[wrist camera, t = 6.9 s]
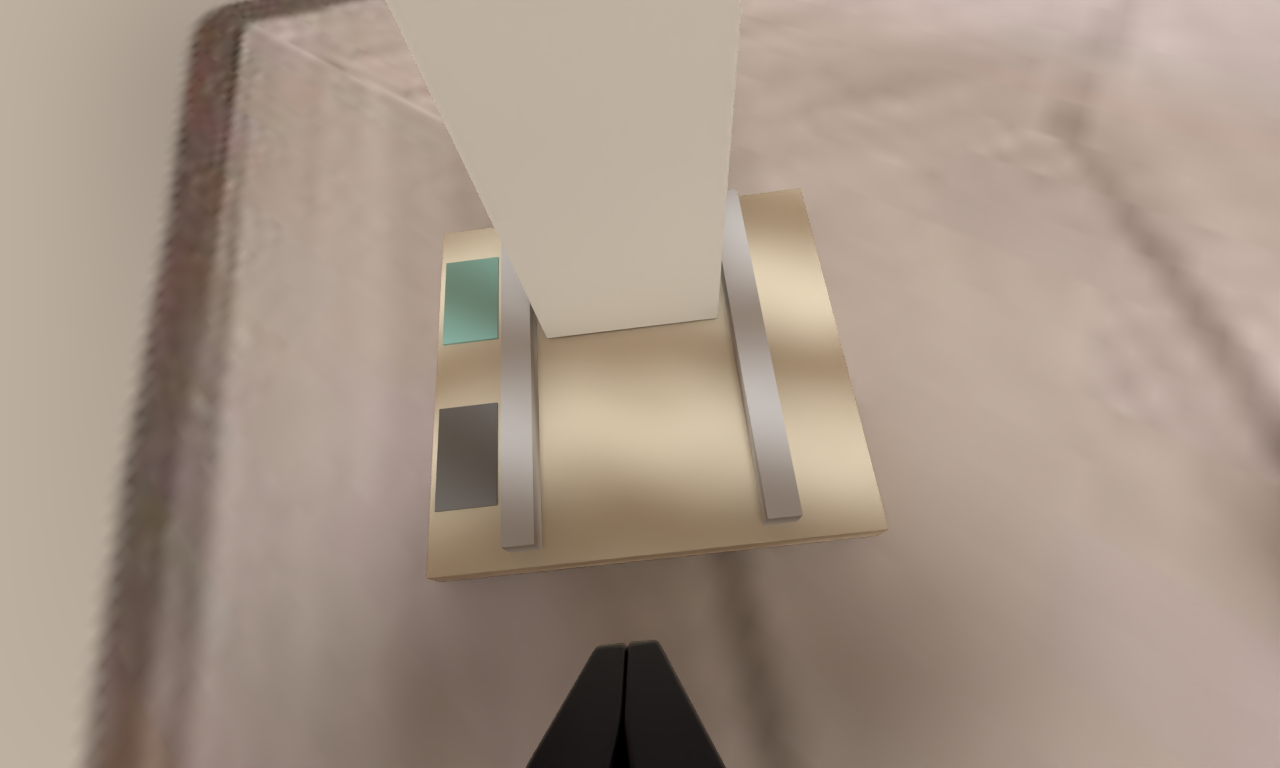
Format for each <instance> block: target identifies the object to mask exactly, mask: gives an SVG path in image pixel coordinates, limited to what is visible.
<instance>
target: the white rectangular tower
mask: <svg viewBox="0 0 1280 768" xmlns="http://www.w3.org/2000/svg"><path fill="white" fill-rule="evenodd" d="M386 2H387V4H388V6H389V8H390V10H391V12H392V14H393V17H394V19H395V21H396V23H397V25H398V27H399V29H400V31H401V33H402V35H403V38H404V40H405V42H406V44H407V46H408V48H409V50H410V52H411V54H412V56H413V58H414V61H415V63H416V65H417V67H418V69H419V71H420V73H421V75H422V77H423V79H424V82H425V84H426V86H427V88H428V90H429V92H430V94H431V96H432V98H433V100H434V102H435V105H436V107H437V109H438V111H439V113H440V115H441V117H442V119H443V121H444V123H445V126H446V128H447V130H448V132H449V134H450V136H451V138H452V140H453V142H454V144H455V146H456V149H457V151H458V153H459V155H460V157H461V159H462V161H463V163H464V165H465V167H466V170H467V172H468V174H469V176H470V178H471V180H472V182H473V184H474V186H475V188H476V190H477V193H478V195H479V197H480V199H481V201H482V203H483V205H484V207H485V209H486V211H487V213H488V216H489V218H490V220H491V222H492V224H493V226H494V228H495V230H496V232H497V234H498V237H499V239H500V241H501V243H502V245H503V247H504V249H505V251H506V253H507V255H508V257H509V260H510V262H511V264H512V266H513V268H514V270H515V272H516V274H517V276H518V278H519V281H520V283H521V285H522V287H523V289H524V291H525V293H526V295H527V297H528V299H529V301H530V304H531V306H532V308H533V310H534V312H535V314H536V316H537V318H538V320H539V322H540V325H541V327H542V329H543V331H544V333H545V335H546V337H547V338H554V337H563V336H571V335H579V334H588V333H596V332H604V331H612V330H621V329H629V328H637V327H646V326H654V325H662V324H671V323H679V322H687V321H696V320H704V319H712V318H717V314H718V301H719V288H720V276H721V263H722V250H723V237H724V224H725V211H726V199H727V186H728V173H729V160H730V147H731V134H732V122H733V109H734V96H735V83H736V70H737V57H738V45H739V32H740V19H741V6H742V0H386Z"/></svg>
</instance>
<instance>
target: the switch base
mask: <svg viewBox="0 0 1280 768" xmlns="http://www.w3.org/2000/svg"><path fill="white" fill-rule="evenodd" d="M886 530H888V525H887V521H886V517H885V514H884V510H883V506H882V502H881V498H880V494H879V490H878V486H877V483H876V479H875V475H874V471H873V467H872V463H871V459H870V455H869V452H868V448H867V444H866V440H865V436H864V432H863V428H862V424H861V421H860V417H859V413H858V409H857V405H856V401H855V397H854V393H853V390H852V386H851V382H850V378H849V374H848V370H847V366H846V362H845V359H844V355H843V351H842V347H841V343H840V339H839V335H838V331H837V328H836V324H835V320H834V316H833V312H832V308H831V304H830V300H829V297H828V293H827V289H826V285H825V281H824V277H823V273H822V269H821V266H820V262H819V258H818V254H817V250H816V246H815V242H814V238H813V235H812V231H811V227H810V223H809V219H808V215H807V211H806V207H805V204H804V200H803V196H802V192H801V188H799V189H791V190H784V191H776V192H768V193H760V194H752V195H744V196H738V192H737V189H733V190H727V199H726V211H725V224H724V237H723V250H722V263H721V276H720V288H719V301H718V314H717V318H712V319H704V320H696V321H687V322H679V323H671V324H662V325H654V326H646V327H637V328H629V329H621V330H612V331H604V332H596V333H588V334H579V335H571V336H563V337H554V338H547V337H546V335H545V333H544V331H543V329H542V327H541V325H540V322H539V320H538V318H537V316H536V314H535V312H534V310H533V308H532V306H531V304H530V301H529V299H528V297H527V295H526V293H525V291H524V289H523V287H522V285H521V283H520V281H519V278H518V276H517V274H516V272H515V270H514V268H513V266H512V264H511V262H510V260H509V257H508V255H507V253H506V251H505V249H504V247H503V245H502V243H501V241H500V239H499V237H498V234H497V232H496V230H495V228H486V229H478V230H470V231H462V232H455V233H447V234H444V243H443V262H442V282H441V301H440V320H439V340H438V359H437V379H436V398H435V417H434V437H433V456H432V476H431V495H430V515H429V534H428V553H427V573H426V578H427V579H432V580H436V581H440V582H445V581H454V580H463V579H473V578H482V577H492V576H501V575H511V574H520V573H530V572H539V571H548V570H558V569H567V568H577V567H586V566H596V565H605V564H615V563H624V562H633V561H643V560H652V559H662V558H671V557H681V556H690V555H700V554H709V553H718V552H728V551H737V550H747V549H756V548H766V547H775V546H785V545H794V544H803V543H813V542H822V541H832V540H841V539H851V538H860V537H870V536H877V535H879V534H881V533H883V532H884V531H886Z"/></svg>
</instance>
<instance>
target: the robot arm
mask: <svg viewBox="0 0 1280 768" xmlns="http://www.w3.org/2000/svg"><path fill="white" fill-rule="evenodd" d="M526 768H726V767H725V765H724V763H723V761H722V759H721V757H720V756H719V754H718V752H717V750H716V748H715V746H714V744H713V742H712V741H711V739H710V737H709V735H708V733H707V731H706V729H705V727H704V725H703V724H702V722H701V720H700V718H699V716H698V714H697V712H696V710H695V709H694V707H693V705H692V703H691V701H690V699H689V697H688V695H687V693H686V692H685V690H684V688H683V686H682V684H681V682H680V680H679V678H678V677H677V675H676V673H675V671H674V669H673V667H672V665H671V663H670V661H669V660H668V658H667V656H666V654H665V652H664V650H663V648H662V646H661V645H660V643H659V642H658V641H656V640H648V641H638V642H631V643H630V644H629V646H628V647H627V646H626V645H625V644H624V643H618V644H609V645H600V646H598V647H597V648H596V649H595V650H594V651H593V653H592V655H591V656H590V658H589V660H588V662H587V663H586V665H585V667H584V668H583V670H582V672H581V674H580V675H579V677H578V679H577V680H576V682H575V684H574V686H573V687H572V689H571V691H570V692H569V694H568V696H567V698H566V699H565V701H564V703H563V704H562V706H561V708H560V710H559V711H558V713H557V715H556V716H555V718H554V720H553V721H552V723H551V725H550V727H549V728H548V730H547V732H546V733H545V735H544V737H543V739H542V740H541V742H540V744H539V745H538V747H537V749H536V751H535V752H534V754H533V756H532V757H531V759H530V761H529V763H528V764H527V766H526Z"/></svg>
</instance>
